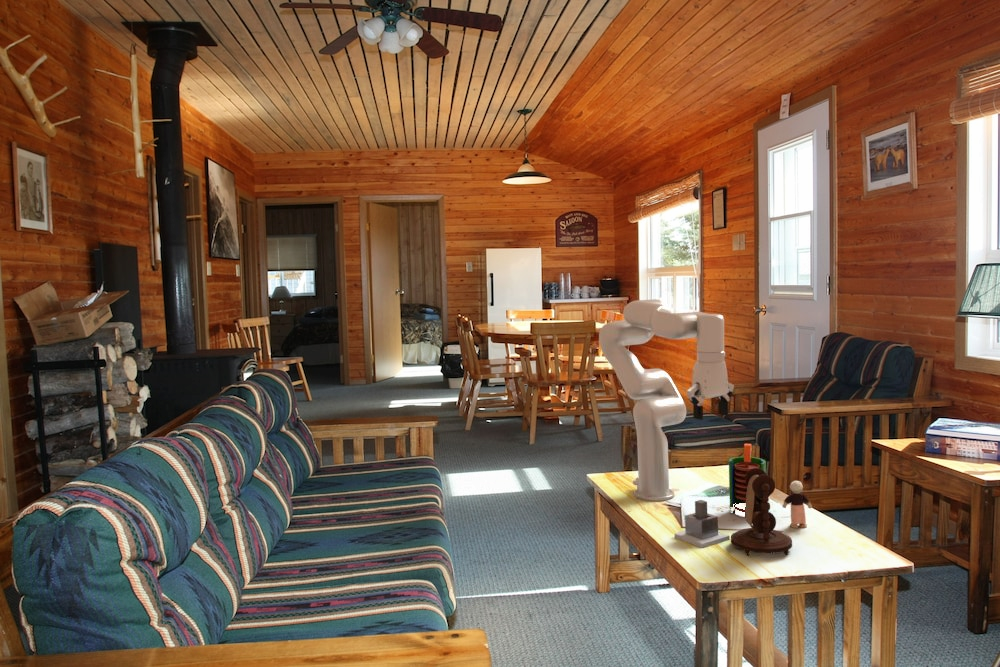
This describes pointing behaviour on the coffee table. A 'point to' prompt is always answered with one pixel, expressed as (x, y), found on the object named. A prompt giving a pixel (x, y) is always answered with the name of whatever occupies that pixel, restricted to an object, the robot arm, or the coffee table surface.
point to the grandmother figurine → (797, 505)
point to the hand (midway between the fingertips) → (710, 416)
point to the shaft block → (699, 513)
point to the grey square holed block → (701, 526)
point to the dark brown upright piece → (760, 518)
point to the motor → (742, 475)
